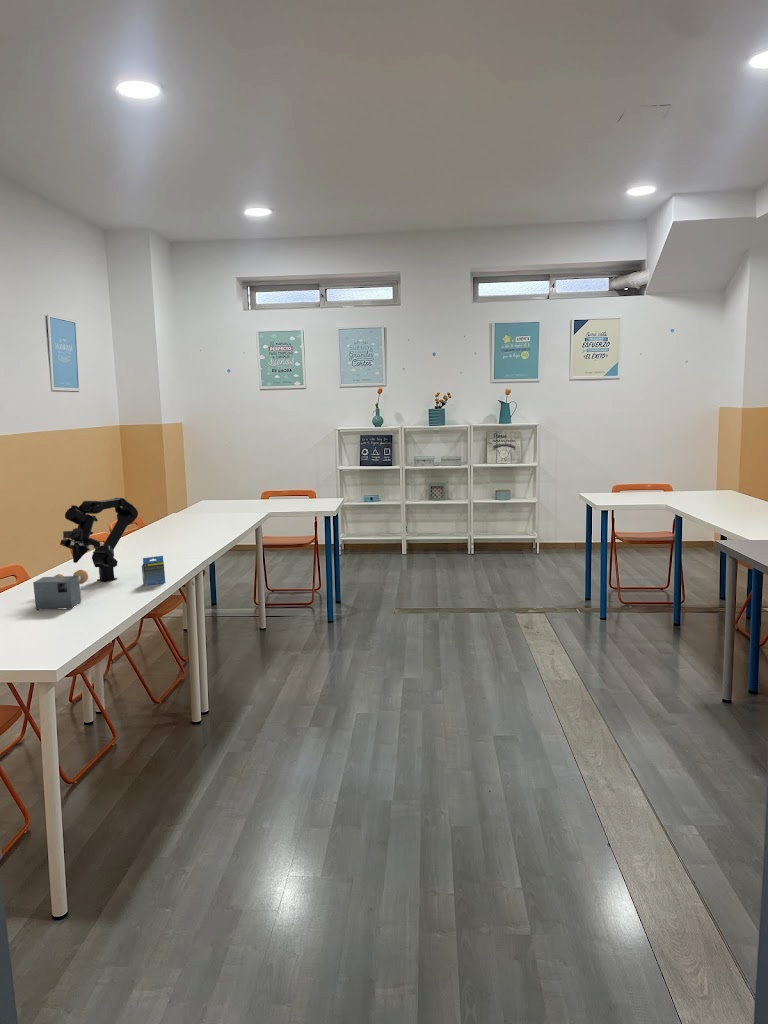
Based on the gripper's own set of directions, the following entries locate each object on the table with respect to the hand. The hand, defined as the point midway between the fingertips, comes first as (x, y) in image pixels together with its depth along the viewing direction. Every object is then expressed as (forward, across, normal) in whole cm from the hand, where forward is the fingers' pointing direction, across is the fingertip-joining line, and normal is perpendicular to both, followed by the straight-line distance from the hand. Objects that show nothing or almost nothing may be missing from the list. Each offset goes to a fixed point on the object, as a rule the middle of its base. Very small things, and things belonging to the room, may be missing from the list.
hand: (74, 562), depth 318 cm
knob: (+13, +14, -8) cm, 20 cm away
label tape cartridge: (+2, +22, +26) cm, 34 cm away
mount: (+21, +12, -10) cm, 26 cm away
